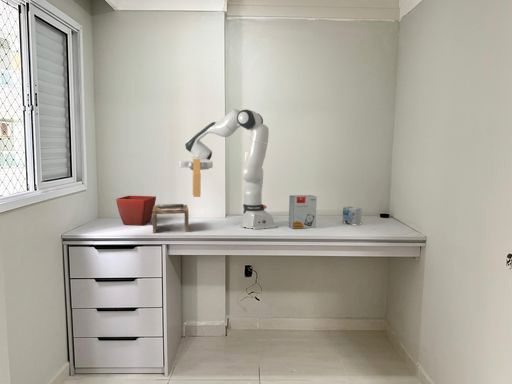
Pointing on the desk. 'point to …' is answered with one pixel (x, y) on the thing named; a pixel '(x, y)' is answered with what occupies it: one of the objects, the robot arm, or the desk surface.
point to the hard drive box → (302, 211)
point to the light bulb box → (352, 215)
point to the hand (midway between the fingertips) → (196, 165)
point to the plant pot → (136, 209)
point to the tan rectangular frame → (177, 207)
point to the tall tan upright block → (196, 178)
